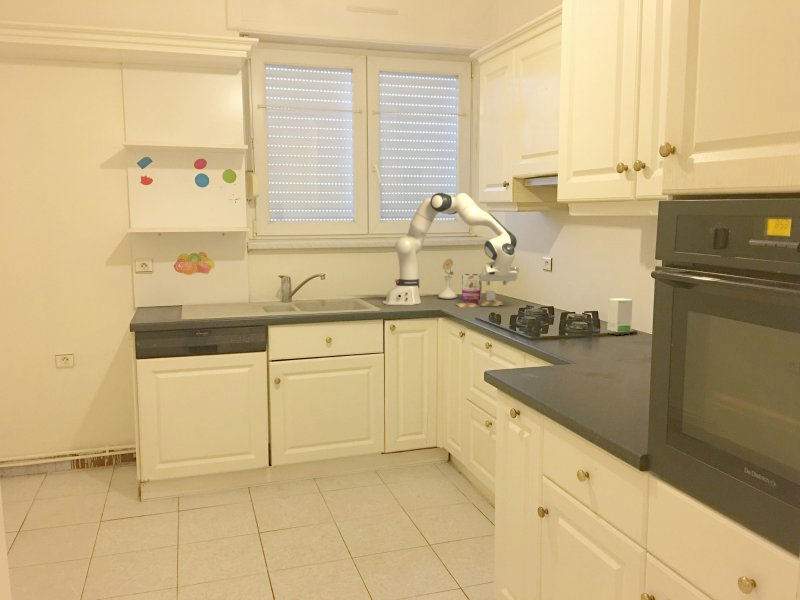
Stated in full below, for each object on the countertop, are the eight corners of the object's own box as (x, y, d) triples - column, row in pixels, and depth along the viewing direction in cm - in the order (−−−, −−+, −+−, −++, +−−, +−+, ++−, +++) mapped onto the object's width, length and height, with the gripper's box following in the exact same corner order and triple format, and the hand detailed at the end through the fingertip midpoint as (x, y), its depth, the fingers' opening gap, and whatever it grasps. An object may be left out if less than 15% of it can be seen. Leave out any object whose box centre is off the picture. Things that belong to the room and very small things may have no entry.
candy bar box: (481, 300, 401) (482, 273, 399) (480, 301, 396) (480, 274, 394) (463, 300, 404) (463, 273, 402) (461, 301, 400) (462, 273, 397)
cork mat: (459, 307, 373) (459, 306, 373) (454, 304, 385) (454, 303, 384) (479, 306, 374) (479, 306, 374) (474, 304, 386) (474, 303, 386)
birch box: (480, 305, 378) (480, 301, 378) (477, 304, 385) (477, 300, 385) (502, 305, 380) (503, 301, 380) (499, 303, 387) (499, 299, 387)
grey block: (486, 305, 381) (486, 291, 380) (485, 304, 383) (485, 291, 382) (495, 305, 382) (495, 291, 381) (493, 304, 384) (494, 290, 383)
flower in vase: (435, 298, 414) (436, 257, 411) (452, 297, 417) (453, 257, 414) (443, 300, 401) (443, 259, 398) (460, 299, 405) (461, 258, 402)
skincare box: (616, 336, 285) (618, 300, 283) (605, 333, 291) (607, 298, 289) (631, 335, 288) (633, 299, 286) (620, 332, 294) (622, 297, 292)
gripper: (519, 263, 363) (512, 279, 374) (482, 263, 360) (477, 279, 371) (521, 272, 359) (515, 288, 370) (484, 272, 356) (479, 288, 367)
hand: (496, 284), depth 370 cm, fingers open, 8 cm apart
